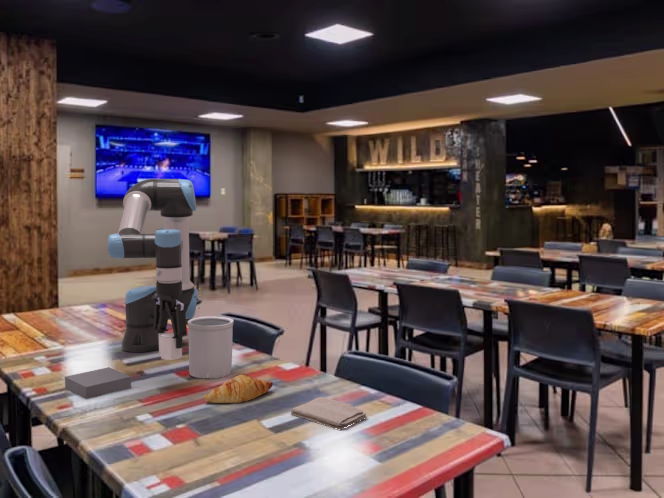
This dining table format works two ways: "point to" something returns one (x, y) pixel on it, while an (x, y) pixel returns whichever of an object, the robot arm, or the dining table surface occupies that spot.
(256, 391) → the croissant
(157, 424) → the dining table surface
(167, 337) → the shot glass
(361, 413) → the washcloth
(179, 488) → the dining table surface
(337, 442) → the dining table surface
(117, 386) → the block
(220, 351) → the utensil holder
